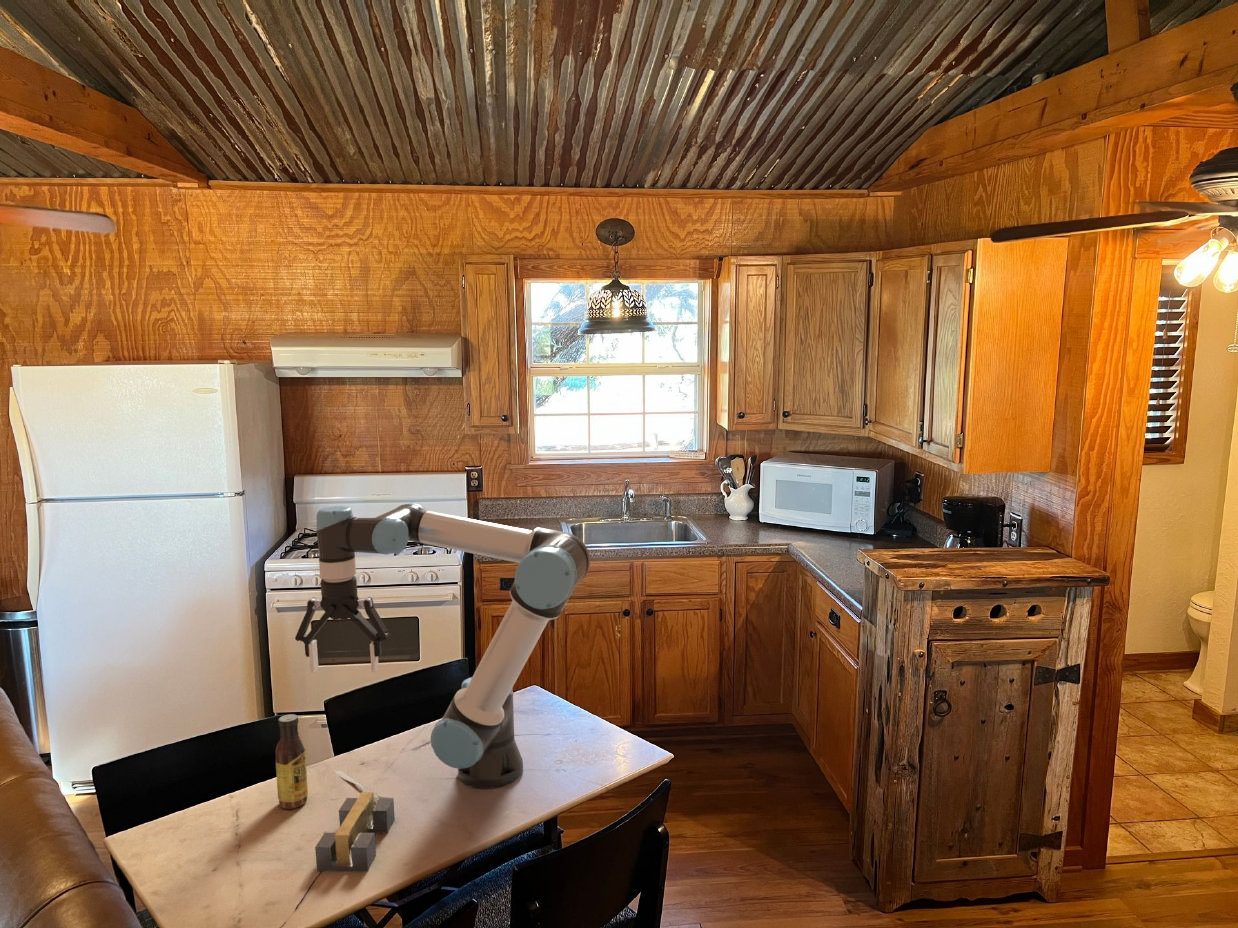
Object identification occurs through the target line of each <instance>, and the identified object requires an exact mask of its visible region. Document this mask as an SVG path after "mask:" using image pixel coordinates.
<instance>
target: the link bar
mask: <svg viewBox="0 0 1238 928" xmlns="http://www.w3.org/2000/svg"><path fill="white" fill-rule="evenodd" d="M357 798H358V799H357V801H356V802H355V804H354V805H353V807H352V809H351V810H350V812H349V813H348V815H347V817H346V818H345V820H344V821H343V823H342V825H341V826H340V825H339V828H338V830H337V831H336V832H335V833H336V834H335V842H336V856H337V864H350V862H351V861H352V854H351V847H352V845H353V843H354V841H355V840H356V838H357V836H358V835H359V833H367V832H368V830H369V829H370V827H371V825H372V823H373V816H372V810H373V808H374V807H375V802H374V801H375V800H374V799H375V798H374V791H371V792H362V791H361V792H360V794H359V795H358V797H357Z"/></svg>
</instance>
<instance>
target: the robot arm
mask: <svg viewBox="0 0 1238 928" xmlns="http://www.w3.org/2000/svg"><path fill="white" fill-rule="evenodd" d="M315 518H316V519H315V521H316V529H315V532H316V537H317V547H318V563H319V564H318V565H319V577H320V579H321V580H320V592H321V593H320V595H321V599H317V598H316V597H315V596H313V597H311V598H310V599H308V601H306V602H307V604H306V611H305V614H304V617H303V619H302V620H301V623H300V625H299V628H298V630H297V632H296V634H295V638H294V639H295V641H296V642H297V641H298V642H299V641H300V642H302V643H303V644H304V652H305V653H304V654H305V657H307V658H309V667H310V673H315V672H316V671H317V670H318V669H319V657H318V656H319V655H318V644H317V643H318V640H317V639H315V636H316V635H317V634H318V633H319V632H320V630H321V629H322V628H323V626H324V625H325V624H326V623H327V621H328V620H329V619H331V620H333V621H336V620H342V621H345V620H346V621H347V620H348V619H350V621H351V622H353V623H355V624H356V625H357V626H358V628H359V629H360V630H361V631H362V632H363V633H364V634H365V635H366V636H367V637H368V638H369V639H370V641H371V642H370V643H369V651H370V667H371V668H370V669H371V673H376V672H377V670H378V669H379V657H380V656H381V655H382V653H383V650H382V649H383V648H382V641H386V640H387V639H388V637H389V636H390V632H389V631H388V629H387V627H386V625H385V623H384V621H383V619H382V617H381V616H380V615H379V613H378V611H377V609H376V608H375V606H374V599H373V597H371V596H368V597H366V598H362V599H360V598H359V597H358V583H357V577H356V574H357V569H356V553H362V554H365V553H366V554H378V555H380V554H381V555H390V554H391V555H393V554H394V555H395V554H396V555H397V554H401V553H402V552H403V551H404V550H405V548H406V547H407V544H408V541H409V542H415V543H419V544H425V545H429V546H430V545H431V546H435V547H440V548H444V549H449V550H454V551H459V552H465V553H470V554H474V555H480V556H484V557H489V558H494V559H499V560H501V561H502V560H504V561H506V562H507V561H508V562H513V563H518V565H517V568H516V569H515V570H516V571H515V575H514V581H513V583H512V585H511V587H510V589H509V596H510V598H511V603H510V605H509V606H508V609H507V610H506V612H505V614H504V616H503V618H502V620H501V622H500V623H499V626H498V627H497V629H496V632H495V633H494V635H493V637H492V639H491V641H490V642H489V645H488V647H487V648H486V650H485V652H484V655H483V656H482V658H481V660H480V662H479V663H478V666H477V667H476V669H475V671H474V673H473V675H472V676H471V677H468V678H466V679H464V680H463V681H462V683H461V689H459V690H457V691H456V693H455V694H454V696H453V698H452V700H451V702H450V704H449V706H448V707H447V709H446V711H445V713H444V715H443V717H442V718H441V719H440V720H439V721H437V722H436V723H435V725H434V727H433V729H432V730H431V734H430V745H431V748H432V749H433V752H434V755H435V756H436V758H438V760H440V761H441V762H442V763H443V764H445V765H446V766H448V767H451V768H453V769H457V776H458V779H459V782H461V783H462V784H463V785H465V786H467V787H470V788H473V789H480V790H481V789H482V790H483V789H484V790H486V789H487V790H489V789H491V790H492V789H497V788H502V787H506V786H508V785H511V784H512V783H514V782H516V781H517V780H519V779H520V778H521V776H522V775H523V773H524V761H523V757H522V755H521V752H520V750H519V748H518V745H517V742H516V740H515V716H514V694H515V693H514V692H513V688H514V686H515V684H516V681H518V680H517V679H518V678H519V676H520V674H521V673H522V670H523V669H524V667H525V665H526V663H527V662H528V659H529V658H530V656H531V654H532V653H533V651H534V648H535V647H536V645H537V643H538V641H539V639H540V637H541V635H542V633H544V632H543V631H544V630H545V628H546V627H547V624H548V623H549V621H551V620H555V619H558V618H559V617H560V616H561V614H562V612H563V611H564V608H565V606H566V605H567V603H568V601H569V599H570V598H571V596H572V593H574V590H575V589H576V588H577V586H578V585H579V584H580V583H581V582H582V581H583V580H584V579H585V577H586V576H587V574H588V573H589V569H590V566H591V556H590V552H589V549H588V547H587V545H586V544H585V543H584V541H583V540H582V539H580V538H579V537H577V536H576V535H575V534H572V533H570V532H566V531H561V530H556V529H550V528H546V527H545V528H544V527H536V528H534V529H533V530H531V529H526V528H520V527H514V526H509V525H504V524H499V523H494V522H488V521H483V520H479V519H478V520H477V519H473V518H468V517H462V516H457V515H452V514H447V513H442V512H436V511H431V510H426V508H425V507H424V506H422V505H421V504H419V503H415V502H412V503H411V502H410V503H405V504H401V505H399V506H397V507H396V508H394V509H392V510H389V511H387V512H385V513H382V514H380V515H379V516H376V517H357V516H354V514H353V511H352V508H351V507H349V506H345V505H344V506H343V505H334V506H327V507H326V506H325V507H323V508H321V509H319V510H318V511H317V512H316V517H315ZM359 606H361V607H362V609H363V610H365V613H366V615H367V618H368V619H369V620H370V622H371V623H370V622H369V621H368V620H367V619H366V617H364V615H363V614H362V612H361V611H360V610H359V609H358V607H359ZM319 607H321V609H322V611H324V613H323V614H322V615H321V617H320V618H319V619H318V621H317V622H316V623H315V624H314V626H313V627H312V628H311V630H310V631H309V632H308V634H307V631H308V629H309V627H310V624H311V621H312V620H313V618H314V615H315V613H316V610H317V609H319Z"/></svg>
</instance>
